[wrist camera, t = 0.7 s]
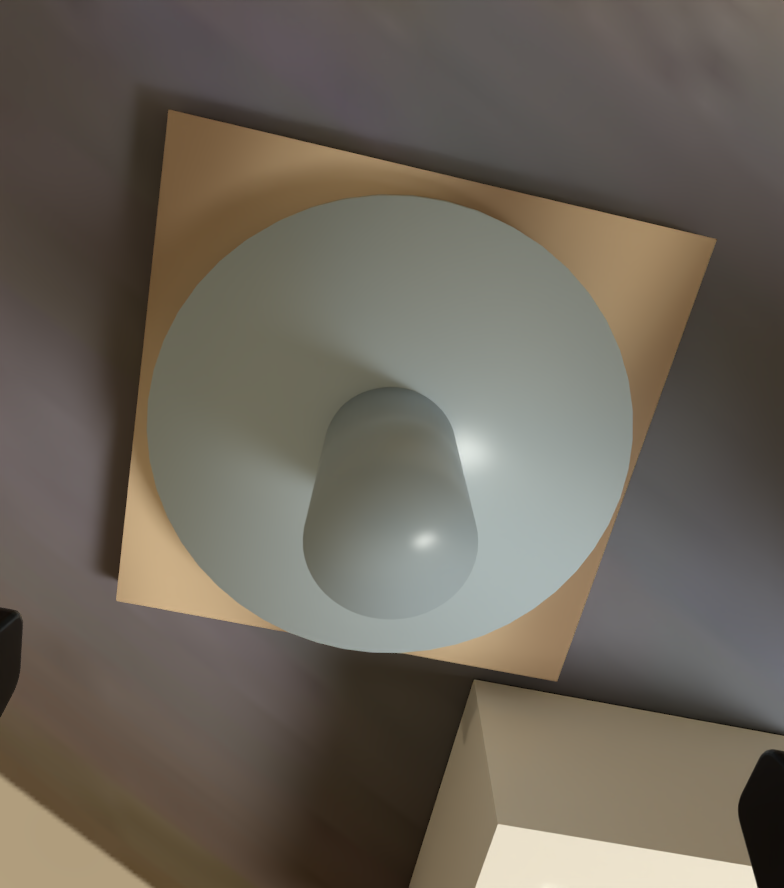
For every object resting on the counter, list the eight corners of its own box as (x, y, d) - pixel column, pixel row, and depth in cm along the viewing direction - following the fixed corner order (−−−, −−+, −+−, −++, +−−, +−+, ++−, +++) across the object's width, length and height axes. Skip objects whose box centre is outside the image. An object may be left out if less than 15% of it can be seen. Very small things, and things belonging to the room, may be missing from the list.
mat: (702, 236, 17) (716, 239, 16) (551, 663, 21) (557, 681, 20) (178, 112, 16) (168, 109, 15) (126, 584, 20) (116, 600, 19)
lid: (687, 256, 16) (823, 298, 11) (544, 662, 20) (597, 833, 15) (189, 140, 16) (91, 127, 10) (137, 587, 19) (45, 740, 14)
